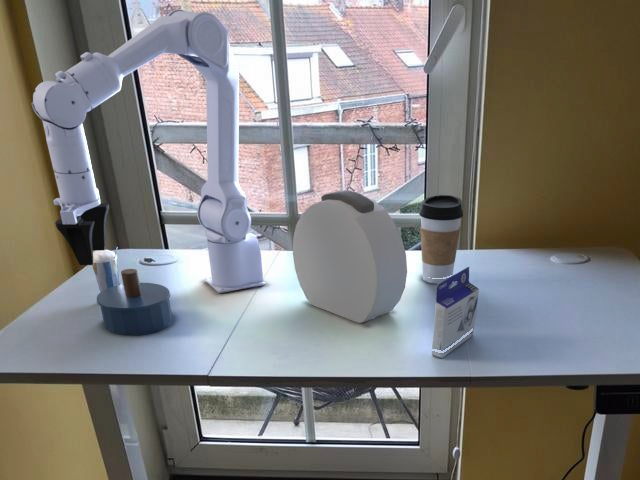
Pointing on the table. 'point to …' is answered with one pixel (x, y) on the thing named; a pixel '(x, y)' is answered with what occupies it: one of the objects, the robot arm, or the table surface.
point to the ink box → (454, 312)
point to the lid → (133, 294)
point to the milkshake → (106, 269)
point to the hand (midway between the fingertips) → (92, 257)
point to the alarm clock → (349, 256)
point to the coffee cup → (439, 235)
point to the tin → (138, 320)
